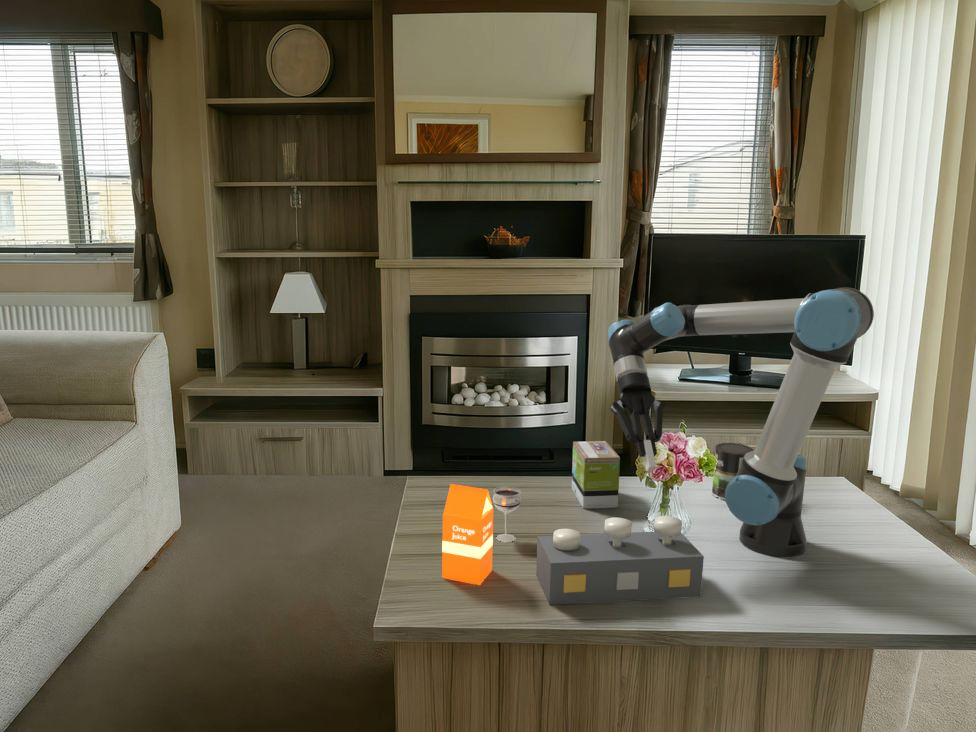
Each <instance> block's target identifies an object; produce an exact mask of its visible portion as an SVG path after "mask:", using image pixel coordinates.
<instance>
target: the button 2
mask: <svg viewBox="0 0 976 732" xmlns="http://www.w3.org/2000/svg"><path fill="white" fill-rule="evenodd" d="M682 524H683V521H682V520H681V519H680V518H678V517H675V516H672V515H659V516H656V517H655V518H654V527H653V529H654V530H653V532H656V533H657V534H659V535H662V536H663V542H662V545H671V538H672V537H675V536H679V535H680V534H681V533H682V527H683V525H682Z"/></svg>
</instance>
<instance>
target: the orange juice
mask: <svg viewBox="0 0 976 732" xmlns="http://www.w3.org/2000/svg"><path fill="white" fill-rule="evenodd" d="M491 499H492V498H491V496H490V493H489V489H485V488H480V487H473V486H466V485H461V484H460V485H459V484H453V483H450V484H449V490H448V493H447V498H446V501H445V505H444V510H443V513H442V542H441V552H442V554H441V555H442V556H441V557H442V558H441V561H442V562H441V563H442V565H441V567H442V569H441V571H442V572H441V573H442V575H441V578H442V579H446V580H451V581H457V582H462V583H466V584H471V585H476V584H477V586H481V585H482V583H483V582H484V581H485V580H486V578H487V577H488V576H489V575H490V573H491V572H492V571H493V545H494V506H493V505H494V504H493V501H492V500H491ZM484 579H485V580H484Z"/></svg>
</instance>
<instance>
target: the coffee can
mask: <svg viewBox="0 0 976 732" xmlns="http://www.w3.org/2000/svg"><path fill="white" fill-rule="evenodd" d="M754 450H755V449H754V448H753V447H750V446H748V445H746V444H742V443H738V442H736V443H735V442H722V443H717V444H715V453H714V454H715V455H714V458H715V457H716V458H717V461H718V462H717V466H716V470H715V472H714V471H713V478H712V479H713V480H712V487H711V488H712V489H711V494H713V495H715V496H716V497H718V498H720V499H719V500H721V499H724V500H723V501H725V490H726V487H727V485H728V483H729V482H730V480H731V479H733V478H734V477H736V475H737V473H738V470H739V468H740V465H741V463H742V461H743V458H744V456H745V454H746V453H748V452H751V451H754ZM713 495H712V496H713ZM715 496H714V497H715ZM716 497H715V498H716ZM718 498H717V499H718Z"/></svg>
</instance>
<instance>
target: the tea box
mask: <svg viewBox="0 0 976 732" xmlns="http://www.w3.org/2000/svg"><path fill="white" fill-rule="evenodd" d="M571 467H572V468H571V490H572V492H573V493H574V495H575V497H576V498H577V500H578V502H579V504H580V506H581V507H582V508H583V510H584V509H585V510H586V509H587V510H589V509H613V508H614V509H615V508H617V509H618V505H619V487H620V486H619V485H620V467H621V457H620V456H619V455H618V453H617V452H616V451H615V450H614V449H613V448H612V446H611V445H610V444H609V443H608V442H607V440H591V441H590V440H589V441H588V440H587V441H573V442H572V466H571Z"/></svg>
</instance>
